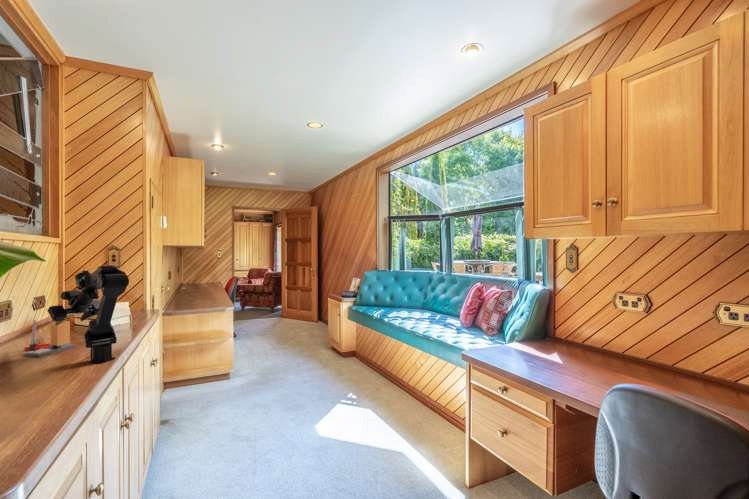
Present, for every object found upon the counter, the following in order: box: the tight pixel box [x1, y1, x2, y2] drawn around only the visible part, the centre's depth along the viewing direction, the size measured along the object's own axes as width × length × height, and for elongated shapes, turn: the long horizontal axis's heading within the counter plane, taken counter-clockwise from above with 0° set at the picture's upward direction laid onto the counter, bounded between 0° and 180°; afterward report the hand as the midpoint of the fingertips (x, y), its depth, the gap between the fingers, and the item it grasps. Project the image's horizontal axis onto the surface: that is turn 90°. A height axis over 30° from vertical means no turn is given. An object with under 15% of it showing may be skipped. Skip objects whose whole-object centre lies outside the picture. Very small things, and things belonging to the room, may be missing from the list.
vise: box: [24, 342, 75, 358], centre depth 149 cm, size 7×14×5 cm, turn 170°
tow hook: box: [23, 320, 51, 351], centre depth 156 cm, size 8×13×9 cm
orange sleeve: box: [50, 320, 71, 346], centre depth 153 cm, size 5×5×10 cm
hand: (68, 322), depth 151 cm, fingers open, 9 cm apart
